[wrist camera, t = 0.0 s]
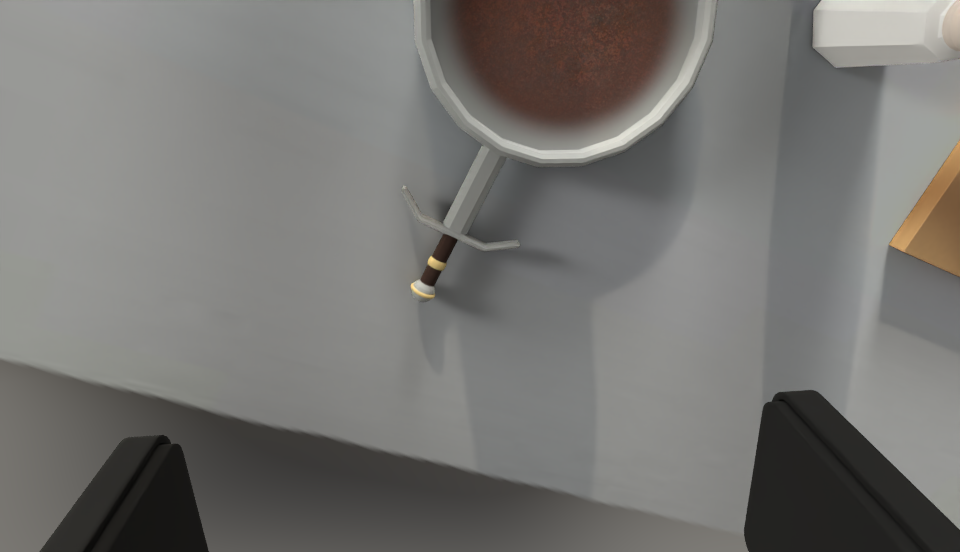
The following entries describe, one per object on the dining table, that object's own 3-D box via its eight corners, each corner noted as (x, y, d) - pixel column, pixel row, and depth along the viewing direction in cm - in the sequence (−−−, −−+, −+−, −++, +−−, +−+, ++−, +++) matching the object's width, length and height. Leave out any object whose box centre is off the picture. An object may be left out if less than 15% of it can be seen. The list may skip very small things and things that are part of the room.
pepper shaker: (873, 77, 39) (1026, 98, 29) (793, 57, 39) (922, 71, 29) (913, -17, 38) (1092, -30, 27) (830, -40, 37) (983, -62, 27)
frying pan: (289, 255, 39) (504, -251, 30) (299, 239, 41) (499, -230, 32) (533, 359, 43) (790, -61, 34) (528, 338, 45) (764, -56, 36)
